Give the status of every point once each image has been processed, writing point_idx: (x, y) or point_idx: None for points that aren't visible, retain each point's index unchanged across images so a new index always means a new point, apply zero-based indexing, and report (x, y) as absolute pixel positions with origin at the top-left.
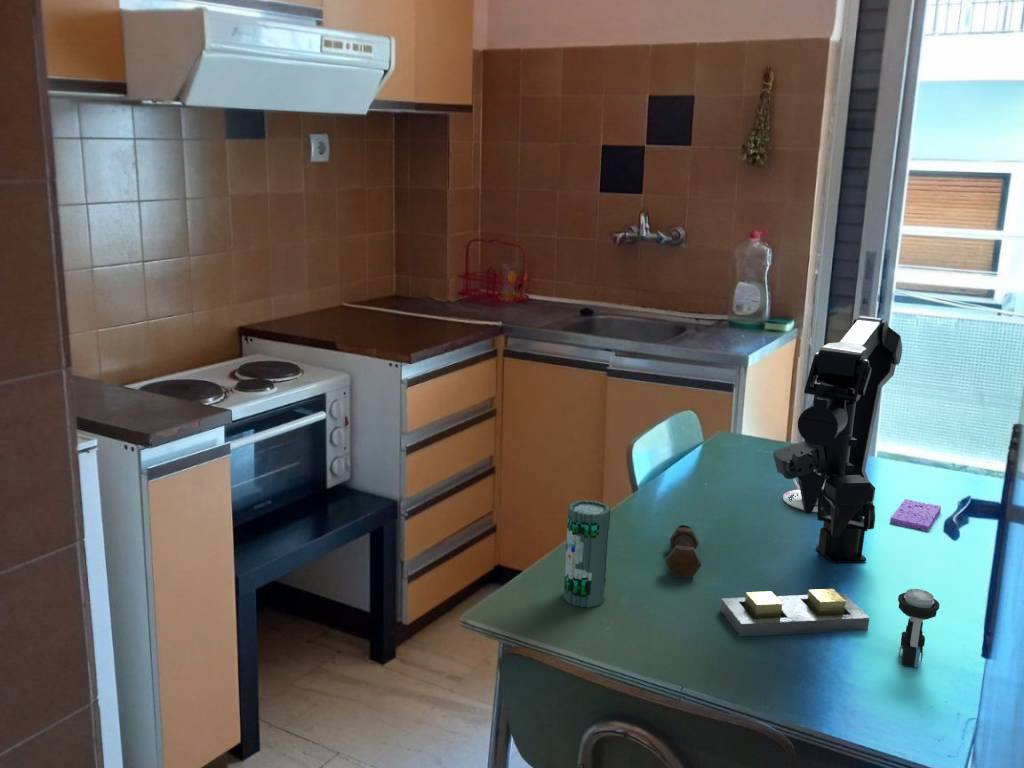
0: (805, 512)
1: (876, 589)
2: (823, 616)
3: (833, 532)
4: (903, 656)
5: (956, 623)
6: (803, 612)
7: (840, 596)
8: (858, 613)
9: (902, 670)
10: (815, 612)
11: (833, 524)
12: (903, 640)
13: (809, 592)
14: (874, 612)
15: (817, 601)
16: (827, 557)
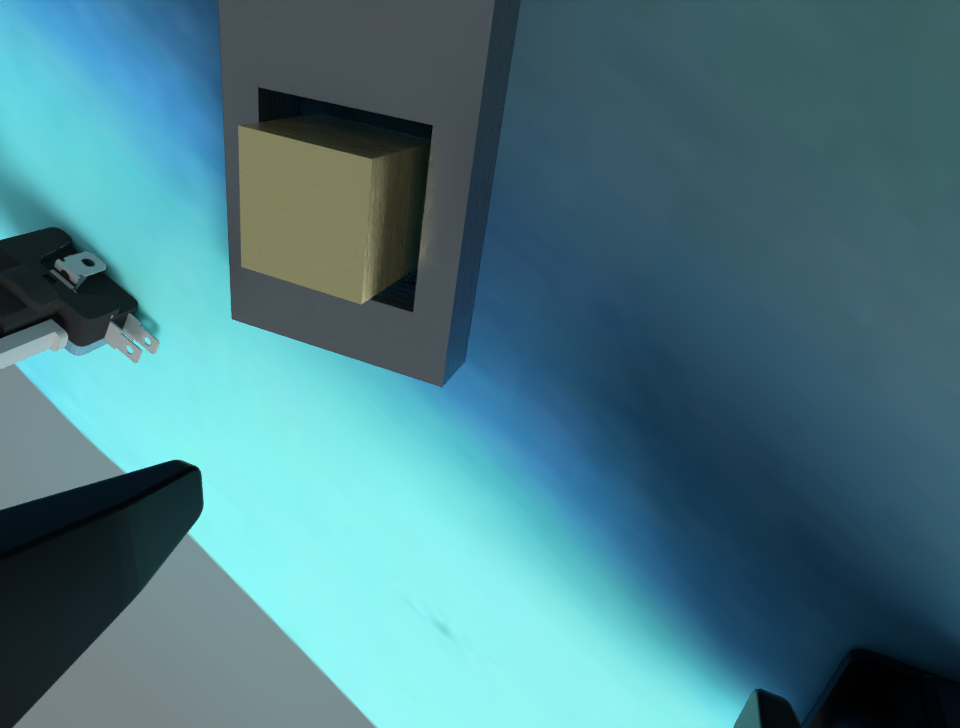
0: (755, 692)
1: (549, 585)
2: (253, 121)
3: (136, 474)
4: (23, 234)
5: (284, 587)
6: (297, 36)
7: (283, 277)
8: (266, 303)
9: (35, 206)
10: (321, 125)
11: (24, 503)
12: (12, 269)
13: (366, 155)
14: (386, 431)
15: (277, 132)
16: (911, 669)
